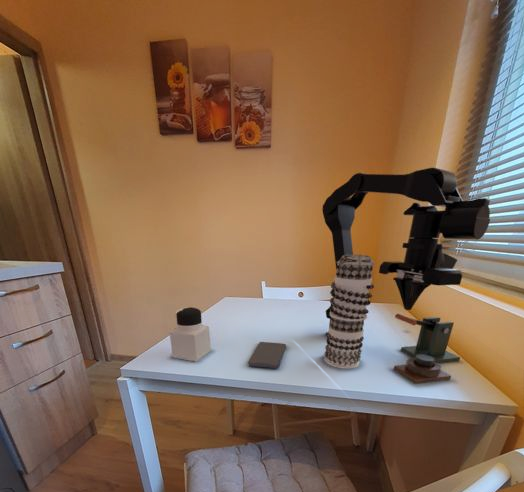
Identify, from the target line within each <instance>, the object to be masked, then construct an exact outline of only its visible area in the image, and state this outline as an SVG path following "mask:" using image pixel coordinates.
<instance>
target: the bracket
mask: <svg viewBox="0 0 524 492" xmlns="http://www.w3.org/2000/svg"><path fill="white" fill-rule="evenodd" d="M431 320H432V321H436V322H437V323H436V324H435V328H434V331H433V332H432V331H430V330H428V329H427V328H428V327H425V326H421V325H420V330H419V333H418V337H417V342H416V345H411V346H409V345H408V346H401V348H400V351H401V352H402V353H404V354H406V355H408V356H410V358H412V357H416V355H419V354H423V355H428V356H431V357H433V358H434V359H435V360H434V361H435V362H437V363H439V364H444V363H454V362H459V361H460V360H461V357H460V356H458V355H456V354H454V353H452V352H449V351H448V350H447V347H448V344H449V341H450V338H451V334H452V331H453V327H454V323H455V322H454V321H441V317H439V316H433V317H423V318H422V321H423V322H427V323H430V322H431Z"/></svg>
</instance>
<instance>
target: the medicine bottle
mask: <svg viewBox="0 0 524 492" xmlns="http://www.w3.org/2000/svg"><path fill="white" fill-rule="evenodd" d="M174 313H175V324H176V327H174V328H173V329H170V330H169V341H170V347H171V355H172V358H174V359H179V360H183V361H184V360H185V361H190V362H195V363H197V362H198V361H200V360H201V359H203V358H204V357H205V356H206V355H208V354H209V353H210V352H211V351H212V348H211V334H210V333H211V332H210V326H209V325H203V321H202V310H200V309H199V308H197V307H192V306H191V307H182V308H179V309H177V310H176V311H175V312H174Z"/></svg>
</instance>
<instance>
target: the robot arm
mask: <svg viewBox="0 0 524 492" xmlns="http://www.w3.org/2000/svg"><path fill="white" fill-rule="evenodd" d="M457 178H458V177H457V175H456V173H454V172H453V171H449V170H445V169H441V168H438V167H427V168H424V169H422V168H421V169H418V170H414V171H411V172H410V173H405V174H394V173H393V174H391V173H390V174H388V173H385V174H384V173H383V174H382V173H362V172H356V173H354V174H353V175H352V176H351V177H350V178H349V179H348V181H346V182H345V183H344V184H342V185H340V186H339V187H337V188H336V189H335V190H333V192H332V193H331V194H330V195H329V196H328V197H327V198H326V199H325V201H324V203H323V204H322V211H321V212H322V215H323V219H324V223H325V225H326V227H327V228H328V230H329V231H330V232H331V236H332V237H331V238H332V245H333V252H334V253H333V254H334V262H335V271H336V270H337V263H336V262H338V261H339V260H340V259H341V257H342V256H344V255H354V251H353V249H354V248H353V242H352V241H353V240H352V231H351V230H352V229H351V228H352V227H353V223H354V220H355V217H356V216H355V215H356V210H357V209H358V208H359V207H360V206H361V205H362V204H363V202H364V199H365V198H366V196H367V194H369V193H373V194H388V195H389V194H390V195H400V196H403V197H406V198H410V199H412V200H415V201H418V202H413V203H412V205H410V207H408V208H407V209H406V210H404V212H403V214H402V215H404V216H412V219H411V223H410V230H409V235H408V240H407V242H403V243H402V246H401V247H402V249H405V254H404V259H403V261H400V260H399V261H398V260H396V261H395V260H394V261H391V260H390V261H389V260H388V261H383V262H382V263H381V264H380V265H379V270H378V273H379V274H382V275H389V274H396V276H395V277H393V278H392V281H395V284H396V287H397V289H398V292H399V295H400V298H401V301H402V305H403V309H404V310H405V311H411V310H412V309H413V307H414V306H415V305H416V302H417V301H418V299H419V298H420V296H421V295H422V293H424V291H425V290H426V289H427V288H428V287H430V286H458V285H459V286H460V285H461V282H462V278H463V273H462V271H461V269H455V266H456V264H457V262H458V259H457V258H455V257H453V256H452V255H449V254H448V253H445V252H443V243H439V239H440V236H441V235H442V237H443V238H444V239H446V240H480V239H482V238H483V237H484V235H485V234H486V232H487V230H488V228H489V225H490V222H491V219H490V216H491V213H490V212H491V211H490V202H491V199H490V198H486V197H482V198H476V199H475V198H474V199H472V200H471V199H470V200H463V198H462V195H461V194H460V192H459V190H458V188H457V185H458V179H457ZM422 202H423V203H429V204H430V205H423V206H422ZM437 207H441V208H444V210H438V208H437ZM330 312H331V311H330V309H329V307H328V308H327V309H326V310H325V317H326V319H329V325H330V323H331V316H330ZM329 325H328V326H329ZM328 332H329V331H328ZM328 332H327V331H326V332H325V335H326V336H327V333H328Z"/></svg>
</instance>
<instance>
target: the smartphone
mask: <svg viewBox="0 0 524 492" xmlns="http://www.w3.org/2000/svg"><path fill="white" fill-rule="evenodd" d="M286 347H287V344H286V343H281V342H271V341H260V342H259V343H258V345H257V346H256V348H255V349H254V351H253V352H252V355H251V356H250V358H249V359H248V361H247V365H248V366H250V367H258V368H259V367H261V368H271V369H278V368H280V365H281V362H282V359H283V356H284V353H285V351H286Z"/></svg>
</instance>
